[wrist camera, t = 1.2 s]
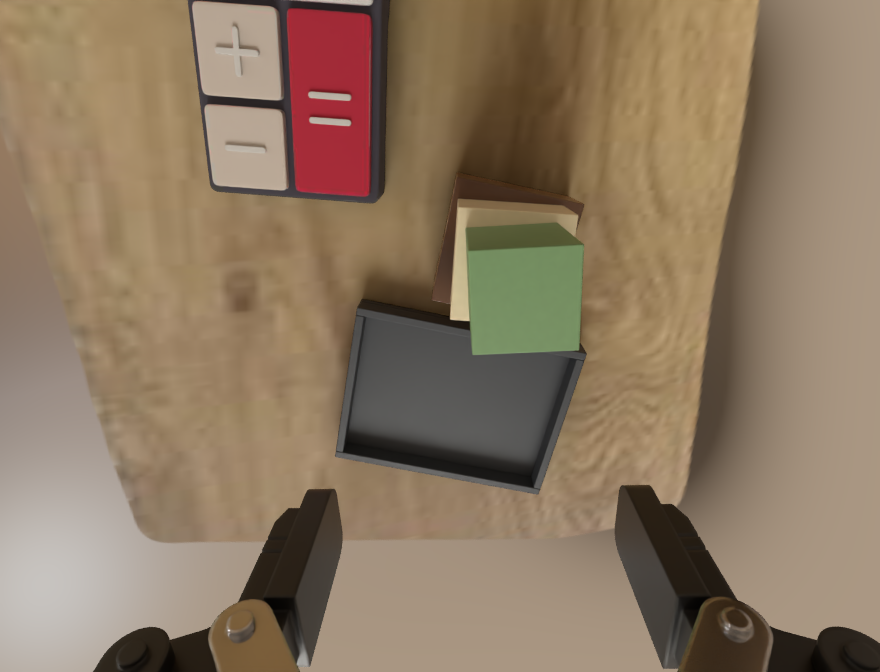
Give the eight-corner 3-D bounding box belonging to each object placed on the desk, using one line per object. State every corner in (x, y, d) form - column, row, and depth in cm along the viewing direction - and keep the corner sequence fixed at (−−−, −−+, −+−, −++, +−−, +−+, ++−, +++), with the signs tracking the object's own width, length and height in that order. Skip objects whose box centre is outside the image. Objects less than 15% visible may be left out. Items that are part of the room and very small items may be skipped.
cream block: (457, 198, 30) (458, 206, 27) (563, 205, 30) (578, 214, 27) (450, 299, 33) (450, 319, 29) (548, 306, 33) (560, 327, 29)
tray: (362, 298, 38) (357, 307, 36) (580, 342, 39) (587, 353, 37) (340, 442, 43) (334, 457, 41) (534, 479, 43) (538, 495, 41)
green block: (465, 227, 27) (468, 250, 22) (557, 222, 27) (584, 243, 21) (468, 313, 29) (472, 355, 23) (555, 309, 29) (579, 350, 23)
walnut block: (456, 171, 34) (456, 176, 30) (569, 196, 35) (584, 204, 30) (433, 282, 37) (431, 300, 33) (537, 303, 37) (548, 324, 33)
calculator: (204, 193, 32) (165, -110, 25) (232, 184, 35) (205, -80, 29) (376, 206, 32) (381, -93, 25) (385, 195, 35) (391, -66, 29)
